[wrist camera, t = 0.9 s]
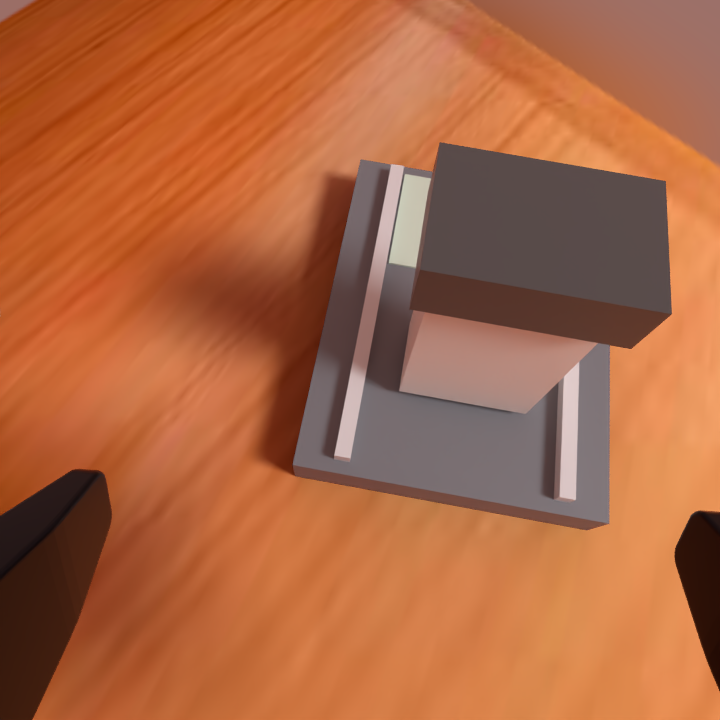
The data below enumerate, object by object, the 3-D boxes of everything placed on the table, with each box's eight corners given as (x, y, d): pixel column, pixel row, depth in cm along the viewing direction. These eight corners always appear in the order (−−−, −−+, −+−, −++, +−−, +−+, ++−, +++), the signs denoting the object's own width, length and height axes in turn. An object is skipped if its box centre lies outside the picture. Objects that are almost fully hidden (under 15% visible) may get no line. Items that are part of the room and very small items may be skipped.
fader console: (587, 530, 23) (616, 521, 21) (295, 475, 24) (291, 461, 21) (592, 227, 29) (615, 194, 27) (358, 187, 30) (361, 150, 27)
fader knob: (537, 428, 22) (671, 314, 14) (384, 400, 22) (420, 269, 14) (542, 336, 24) (665, 181, 15) (399, 310, 24) (440, 142, 15)
